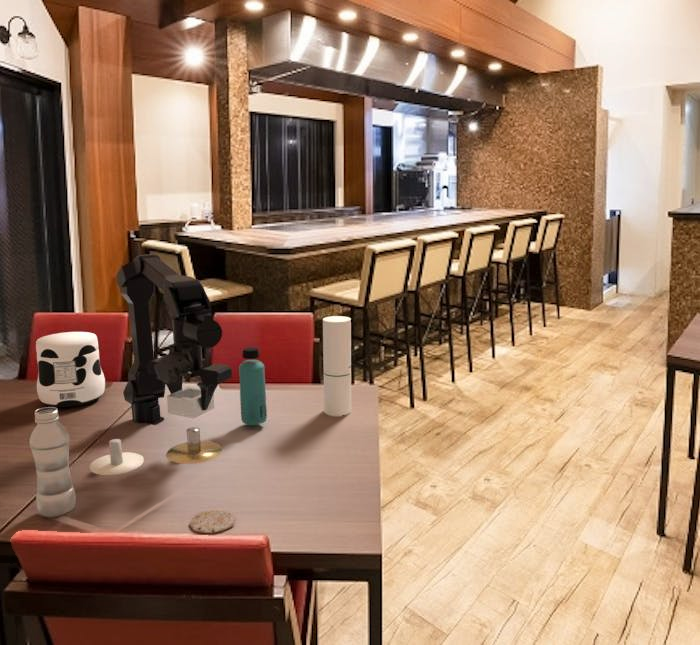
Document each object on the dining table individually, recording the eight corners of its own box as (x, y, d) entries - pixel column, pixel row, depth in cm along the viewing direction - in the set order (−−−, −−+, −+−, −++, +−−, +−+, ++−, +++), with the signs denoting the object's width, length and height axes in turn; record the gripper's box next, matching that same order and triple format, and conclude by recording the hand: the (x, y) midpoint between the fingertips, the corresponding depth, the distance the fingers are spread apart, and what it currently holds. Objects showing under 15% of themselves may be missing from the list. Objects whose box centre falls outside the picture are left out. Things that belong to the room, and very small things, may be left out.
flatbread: (183, 533, 111) (182, 528, 110) (200, 511, 118) (200, 506, 118) (227, 537, 109) (227, 532, 109) (242, 515, 117) (242, 510, 116)
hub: (155, 460, 139) (152, 434, 138) (191, 440, 149) (190, 416, 148) (198, 471, 134) (196, 444, 132) (232, 449, 144) (231, 424, 143)
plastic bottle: (45, 504, 120) (33, 404, 116) (82, 503, 121) (71, 403, 116) (31, 522, 114) (18, 417, 109) (70, 521, 114) (59, 416, 110)
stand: (78, 471, 134) (75, 446, 132) (118, 452, 143) (115, 428, 142) (116, 482, 129) (113, 456, 127) (155, 461, 138) (153, 436, 137)
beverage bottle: (262, 431, 154) (259, 352, 150) (236, 429, 156) (233, 351, 151) (271, 421, 161) (268, 345, 156) (246, 420, 162) (242, 344, 157)
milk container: (83, 387, 188) (77, 328, 184) (119, 398, 178) (113, 336, 175) (26, 403, 175) (18, 340, 171) (61, 416, 165) (53, 349, 161)
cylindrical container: (354, 408, 170) (354, 317, 164) (345, 417, 163) (345, 322, 158) (329, 405, 172) (328, 315, 166) (320, 414, 165) (318, 321, 160)
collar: (168, 413, 138) (166, 395, 137) (189, 403, 144) (188, 386, 143) (193, 418, 135) (192, 400, 134) (214, 407, 141) (213, 390, 140)
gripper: (126, 342, 132) (132, 413, 136) (198, 352, 125) (202, 427, 128) (162, 330, 142) (167, 397, 146) (231, 339, 134) (234, 409, 138)
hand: (191, 407), depth 139 cm, fingers closed on collar, 7 cm apart
